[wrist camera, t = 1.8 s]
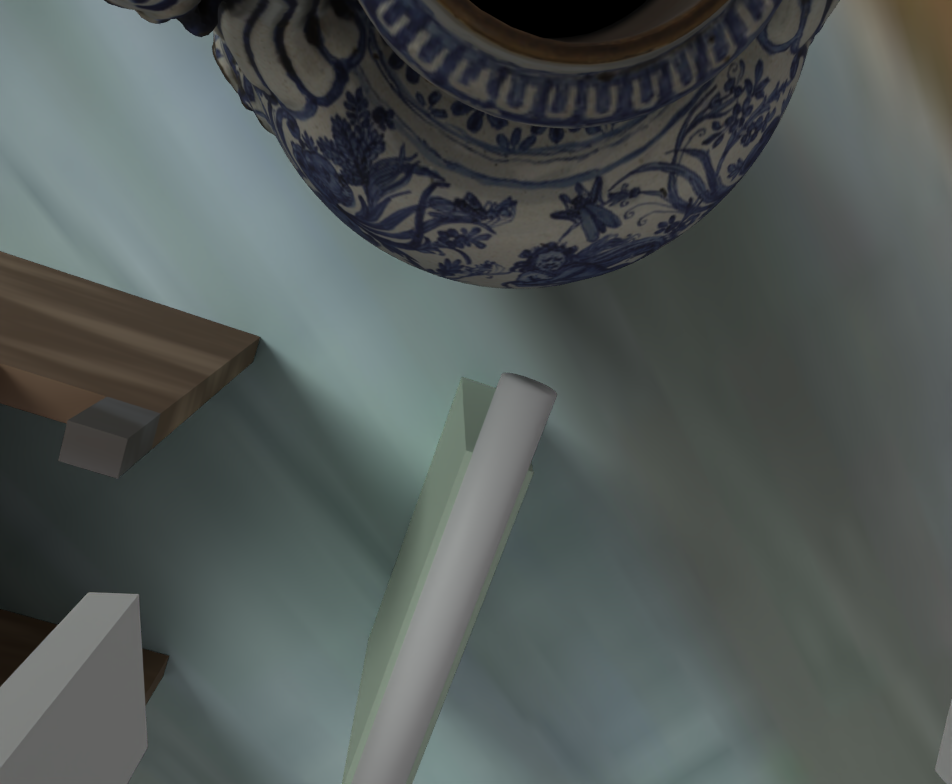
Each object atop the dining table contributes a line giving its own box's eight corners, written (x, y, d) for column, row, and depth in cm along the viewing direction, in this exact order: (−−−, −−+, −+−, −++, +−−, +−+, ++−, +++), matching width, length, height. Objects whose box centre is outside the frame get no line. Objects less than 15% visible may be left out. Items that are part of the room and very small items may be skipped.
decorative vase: (318, 277, 42) (88, 410, 15) (263, -99, 38) (-206, -866, 11) (702, 238, 43) (1151, 298, 15) (692, -141, 38) (1299, -997, 11)
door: (411, 701, 50) (396, 896, 36) (352, 684, 49) (313, 875, 36) (547, 342, 44) (591, 411, 30) (482, 319, 43) (496, 379, 30)
